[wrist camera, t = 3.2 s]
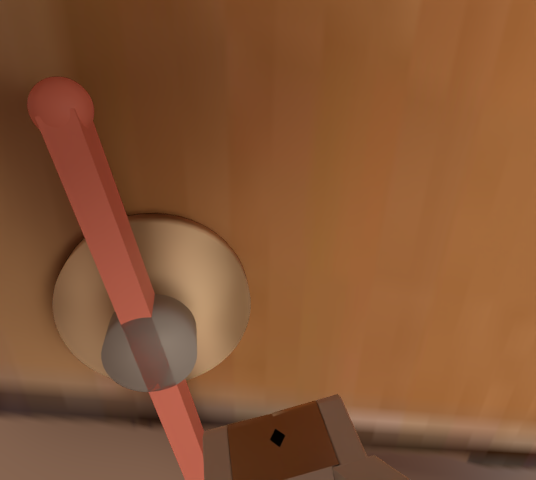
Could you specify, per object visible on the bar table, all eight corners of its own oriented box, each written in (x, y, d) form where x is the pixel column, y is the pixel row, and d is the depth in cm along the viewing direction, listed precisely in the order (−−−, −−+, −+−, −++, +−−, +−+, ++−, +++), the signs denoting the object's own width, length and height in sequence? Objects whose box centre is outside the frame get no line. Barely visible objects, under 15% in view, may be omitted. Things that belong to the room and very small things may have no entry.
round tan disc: (225, 193, 26) (230, 211, 24) (262, 346, 32) (269, 375, 29) (26, 239, 26) (6, 263, 23) (98, 388, 31) (89, 423, 28)
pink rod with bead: (113, 63, 20) (103, 66, 17) (244, 473, 32) (248, 508, 30) (1, 86, 19) (-25, 93, 17) (177, 492, 32) (176, 528, 29)
